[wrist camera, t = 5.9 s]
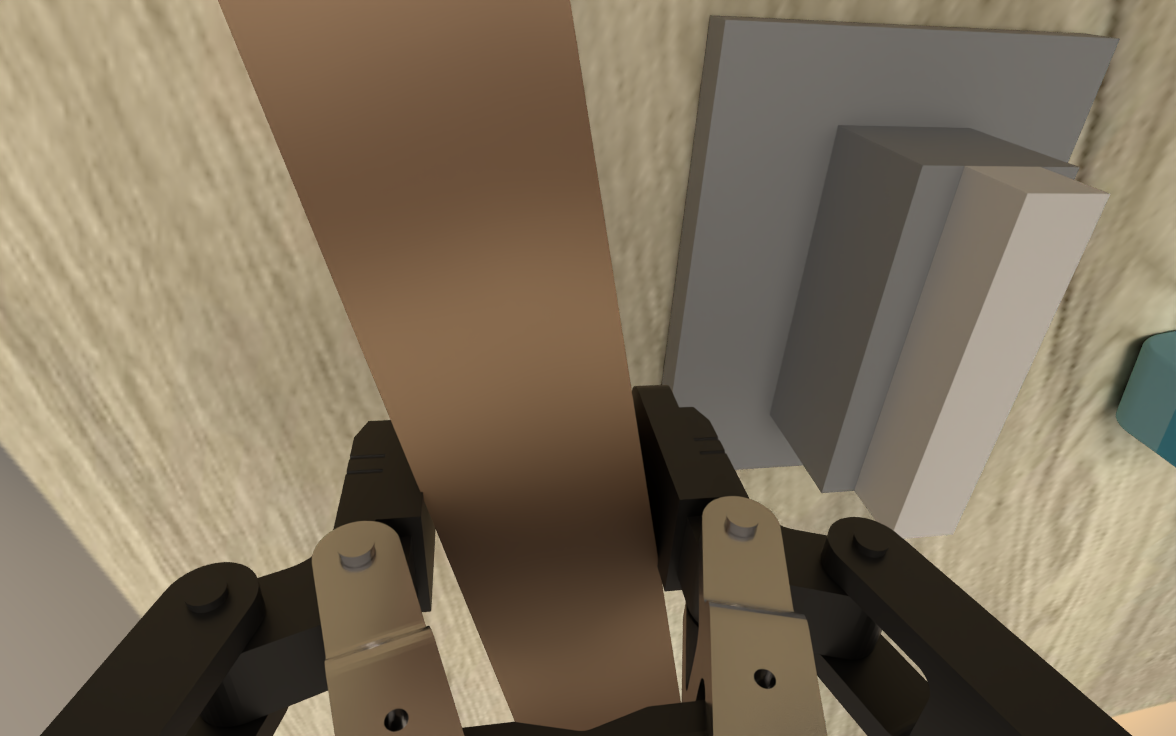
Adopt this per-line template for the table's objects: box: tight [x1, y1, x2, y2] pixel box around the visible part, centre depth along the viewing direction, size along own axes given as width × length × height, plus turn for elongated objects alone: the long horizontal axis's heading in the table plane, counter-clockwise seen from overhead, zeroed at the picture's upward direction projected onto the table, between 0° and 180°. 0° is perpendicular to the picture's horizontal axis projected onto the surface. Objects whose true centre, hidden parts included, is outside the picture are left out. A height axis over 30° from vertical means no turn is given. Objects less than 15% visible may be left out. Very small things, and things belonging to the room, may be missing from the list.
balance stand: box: [662, 15, 1120, 539], centre depth 24 cm, size 14×18×9 cm
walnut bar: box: [218, 0, 681, 731], centre depth 13 cm, size 26×4×4 cm, turn 9°
